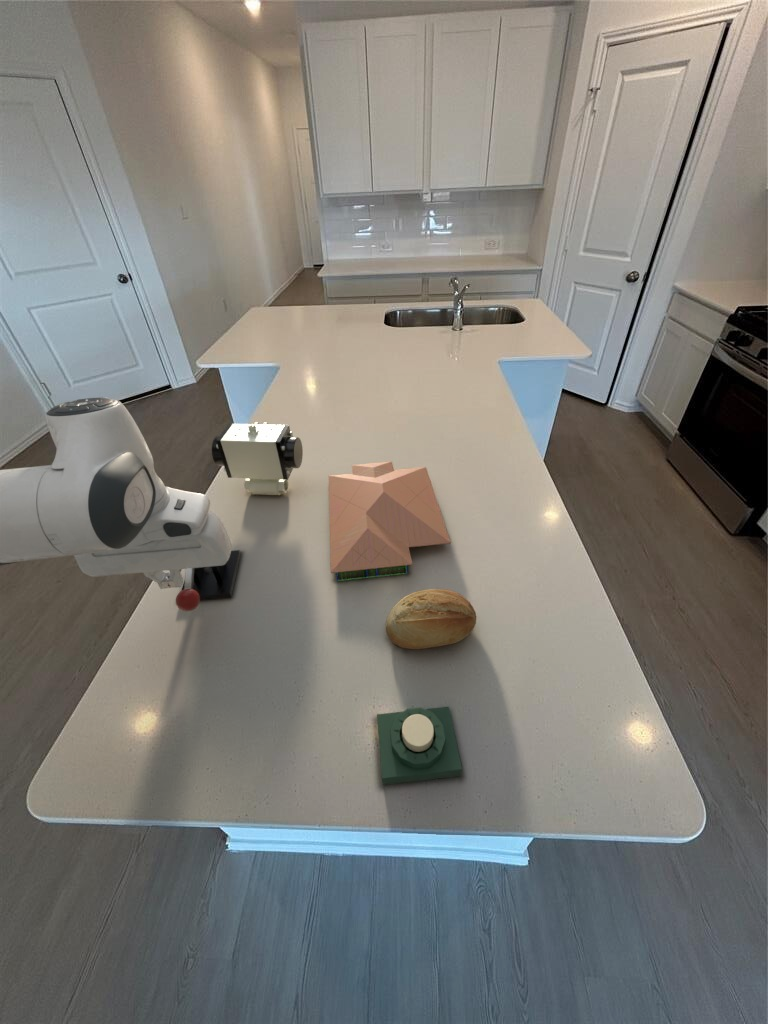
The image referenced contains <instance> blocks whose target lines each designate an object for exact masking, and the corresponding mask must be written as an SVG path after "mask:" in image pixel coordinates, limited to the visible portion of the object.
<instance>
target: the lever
mask: <svg viewBox="0 0 768 1024" xmlns="http://www.w3.org/2000/svg"><path fill="white" fill-rule="evenodd" d="M184 581H185V585H184V590H182V589H181V590H182V591H181V590H180V591H179V592H178V593H177V594H176V597H175V604H176V606H177V608H178V609H179V610H180V611H184V612H191V611H193V610H195V609H196V608H197V607H198V606H199V605H200V603H201V600H200V596H199V594H198V592H197V591H195V590H193V584H194V568H188V569H185V574H184Z"/></svg>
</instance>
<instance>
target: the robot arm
mask: <svg viewBox="0 0 768 1024" xmlns="http://www.w3.org/2000/svg"><path fill="white" fill-rule="evenodd" d="M44 417H45V422H46V425H47V428H48V431H49V434H50V437H51V439H52V441H53V443H54V447H55V448H56V449H55V450H56V452H55V456H54V458H53V462H51V464H49V465H48V464H47V465H39V466H38V465H37V466H28V467H27V466H26V467H17V468H16V467H15V468H8V469H7V468H6V469H0V566H5V565H6V566H7V565H11V564H16V563H21V562H27V561H36V560H46V559H53V558H64V557H70V556H71V557H72V556H73V557H74V560H75V561H76V564H77V565H78V567H79V569H80V570H81V572H82V573H83V574H85V575H87V576H89V577H92V578H97V577H106V576H120V575H130V574H143V576H145V577H146V578H147V579H150V580H152V581H153V582H155V583H156V584H157V585H158V588H159V589H160V590H165V589H176V588H182V587H183V584H184V577H183V575H182V573H181V572H182V570H186V569H188V568H199V567H210V566H222V565H225V564H226V562H227V561H228V560H229V557H230V554H231V551H232V548H233V547H232V546H233V545H232V541H231V537H230V535H229V533H228V531H227V529H226V527H225V525H224V523H223V521H222V520H221V518H220V516H219V515H217V514H216V513H215V512H213V511H211V510H210V509H211V500H210V498H209V497H208V496H207V495H206V494H204V493H197V492H192V491H186V490H182V489H177V488H173V487H169V486H165V485H166V484H165V483H164V482H163V480H162V478H160V477H159V476H158V474H157V472H156V471H155V463H154V457H153V454H152V452H151V450H150V448H149V446H148V444H147V441H146V439H145V437H144V435H143V433H142V432H141V430H140V428H139V426H138V424H137V422H136V421H135V419H134V418H133V415H131V413H130V412H129V410H128V409H127V407H126V406H125V405H124V404H123V403H122V402H121V401H120V400H118V399H114V398H109V397H88V398H80V399H75V400H71V401H70V400H69V401H65V402H62V403H59V404H57V405H54V406H52V407H51V408H50V409H49V410H47V412H45V414H44ZM166 571H169V572H166Z"/></svg>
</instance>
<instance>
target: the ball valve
mask: <svg viewBox="0 0 768 1024" xmlns="http://www.w3.org/2000/svg"><path fill="white" fill-rule="evenodd" d="M293 434H294V433H293V431H291V428H290V425H289V424H269V423H268V422H266V421H265V422H263V423H262V424H260V423H259V422H258V421H255V422H254V423H228V424H227V425H226V427H225V428H224V429H223V430H222V432H221V433H220V434H218V435H216V436H215V437H214V438H213V440H212V443H211V456H212V459H213V462H214V464H215V465H216V466H219V467H224V468H223V471H224V472H225V474H226V477H227V478H229V479H244V482H243V483H244V484H243V486H244V490H245V491H246V492H247V493H250V494H252V495H262V496H263V495H265V496H281V495H286V494H287V493H288V491H289V479H290V477H291V474H292V472H293V470H294V469H299V468H301V465H302V463H303V455H304V454H303V453H304V452H303V442H302V440H301V438H300V437H299V436H294V435H293Z"/></svg>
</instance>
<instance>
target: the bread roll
mask: <svg viewBox="0 0 768 1024" xmlns="http://www.w3.org/2000/svg"><path fill="white" fill-rule="evenodd" d="M386 618H387V619H386V621H385V628H384V629H385V633H386V636H387V637H388V639H389V640H390V641H391V642H392V644H394V645H396V646H398V647H400V648H403V649H408V650H421V649H429V648H435V647H442V646H447V645H448V646H449V645H453V644H456V643H459V642H460V641H462V640H464V639H466V638H467V637H468V636H469V635H470V634H471V633H472V632H473V630H474V628H475V626H476V624H477V613H476V610H475V609H474V606H473V605H472V603H471V602H470V601H469V600H468V599H467V598H466V597H464V596H463V595H462V594H460V593H458V592H456V591H453V590H449V589H440V588H431V589H430V588H429V589H422V590H418V591H414V592H412V593H409V594H408V595H405V596H404V597H402V598H401V599H400V600H399V601H398V602H397V603H395V605H394V606H393V607H392V609H391V610H390V612H389V613H388V616H387V617H386Z"/></svg>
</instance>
